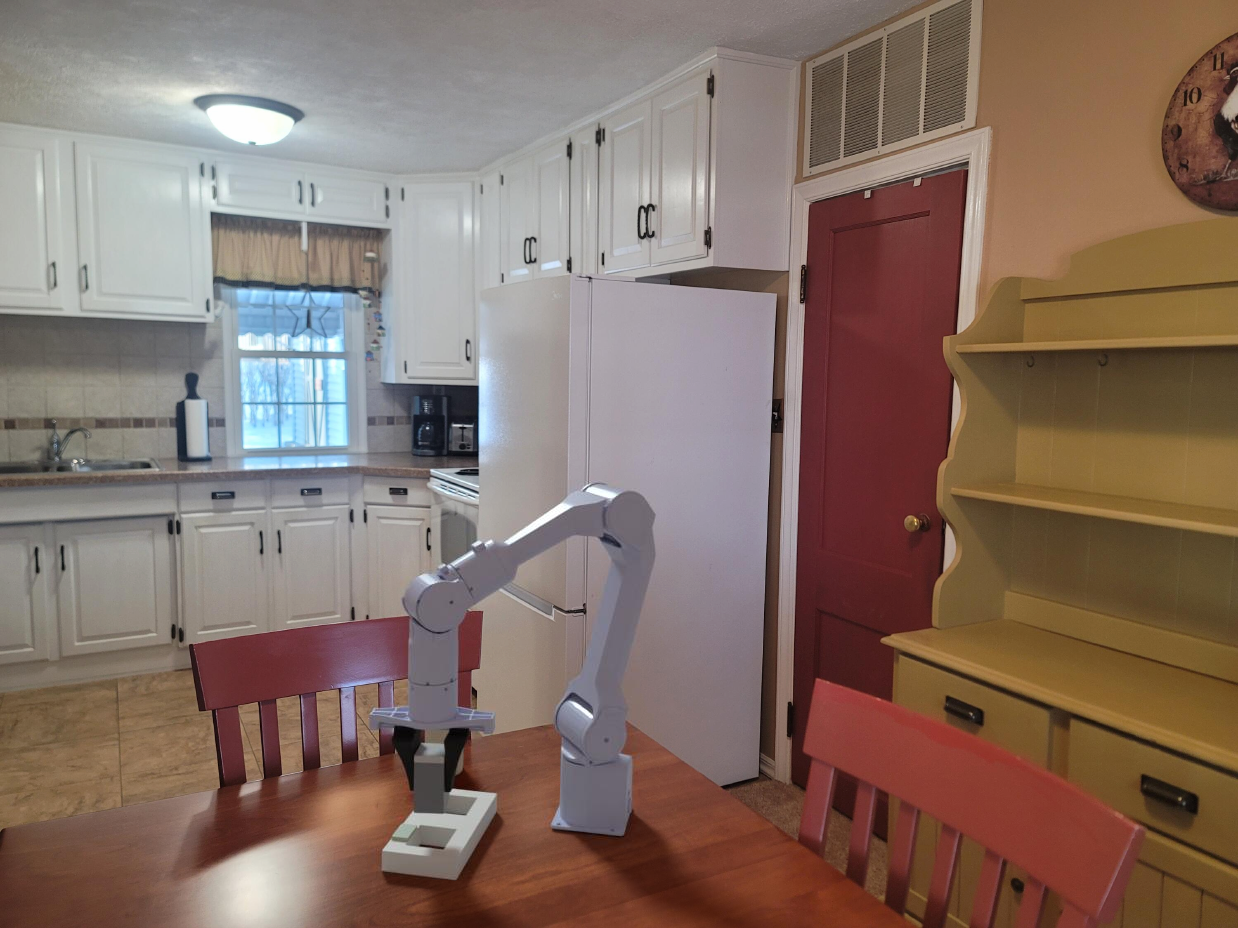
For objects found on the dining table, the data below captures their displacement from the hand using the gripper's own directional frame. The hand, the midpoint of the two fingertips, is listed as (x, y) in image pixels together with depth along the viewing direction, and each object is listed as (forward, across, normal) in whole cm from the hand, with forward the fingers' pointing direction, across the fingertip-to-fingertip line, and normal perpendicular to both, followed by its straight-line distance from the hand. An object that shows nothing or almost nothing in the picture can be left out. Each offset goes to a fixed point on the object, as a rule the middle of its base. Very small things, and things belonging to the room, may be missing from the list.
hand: (432, 787), depth 103 cm
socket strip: (+9, -1, -4) cm, 10 cm away
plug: (+2, 0, 0) cm, 2 cm away
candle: (+9, +3, -23) cm, 25 cm away
